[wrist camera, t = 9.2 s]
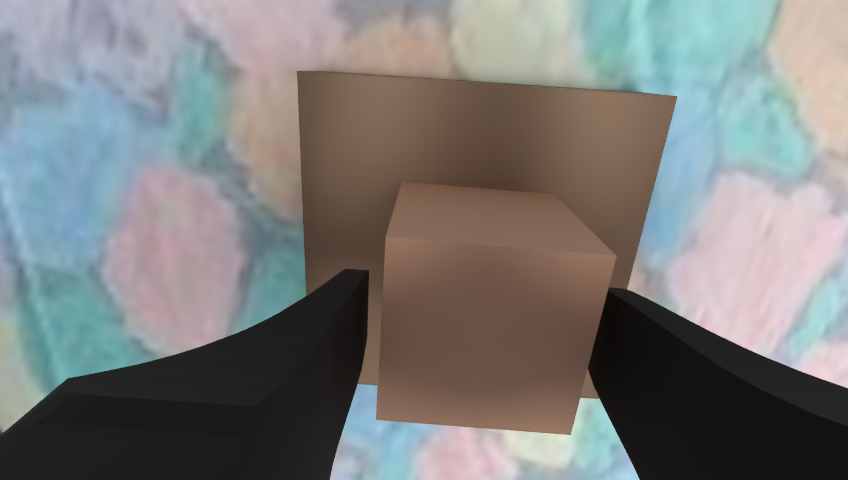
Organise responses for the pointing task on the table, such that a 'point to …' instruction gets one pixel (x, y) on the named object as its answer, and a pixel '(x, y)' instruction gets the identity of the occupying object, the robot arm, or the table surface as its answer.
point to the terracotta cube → (488, 309)
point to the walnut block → (467, 163)
